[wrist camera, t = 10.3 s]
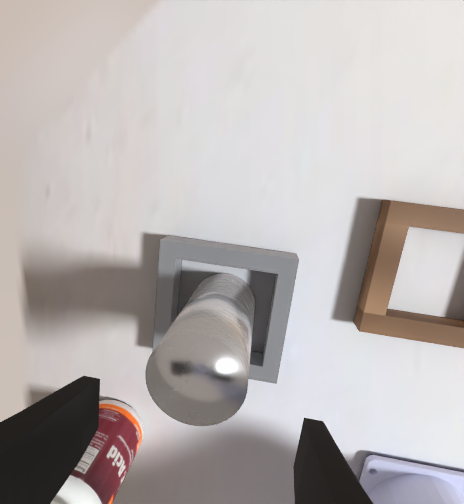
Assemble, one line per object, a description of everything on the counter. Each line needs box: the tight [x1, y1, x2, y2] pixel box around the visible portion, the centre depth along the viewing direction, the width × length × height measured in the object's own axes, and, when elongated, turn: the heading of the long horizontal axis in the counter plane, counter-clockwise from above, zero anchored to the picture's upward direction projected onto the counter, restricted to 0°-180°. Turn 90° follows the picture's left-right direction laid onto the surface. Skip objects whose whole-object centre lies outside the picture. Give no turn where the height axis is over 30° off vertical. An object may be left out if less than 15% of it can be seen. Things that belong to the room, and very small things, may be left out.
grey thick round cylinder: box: [146, 273, 255, 426], centre depth 15 cm, size 4×4×8 cm
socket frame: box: [353, 200, 464, 348], centre depth 17 cm, size 8×8×1 cm
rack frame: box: [152, 235, 299, 383], centre depth 18 cm, size 8×8×2 cm
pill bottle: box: [50, 400, 144, 504], centre depth 18 cm, size 5×5×8 cm
